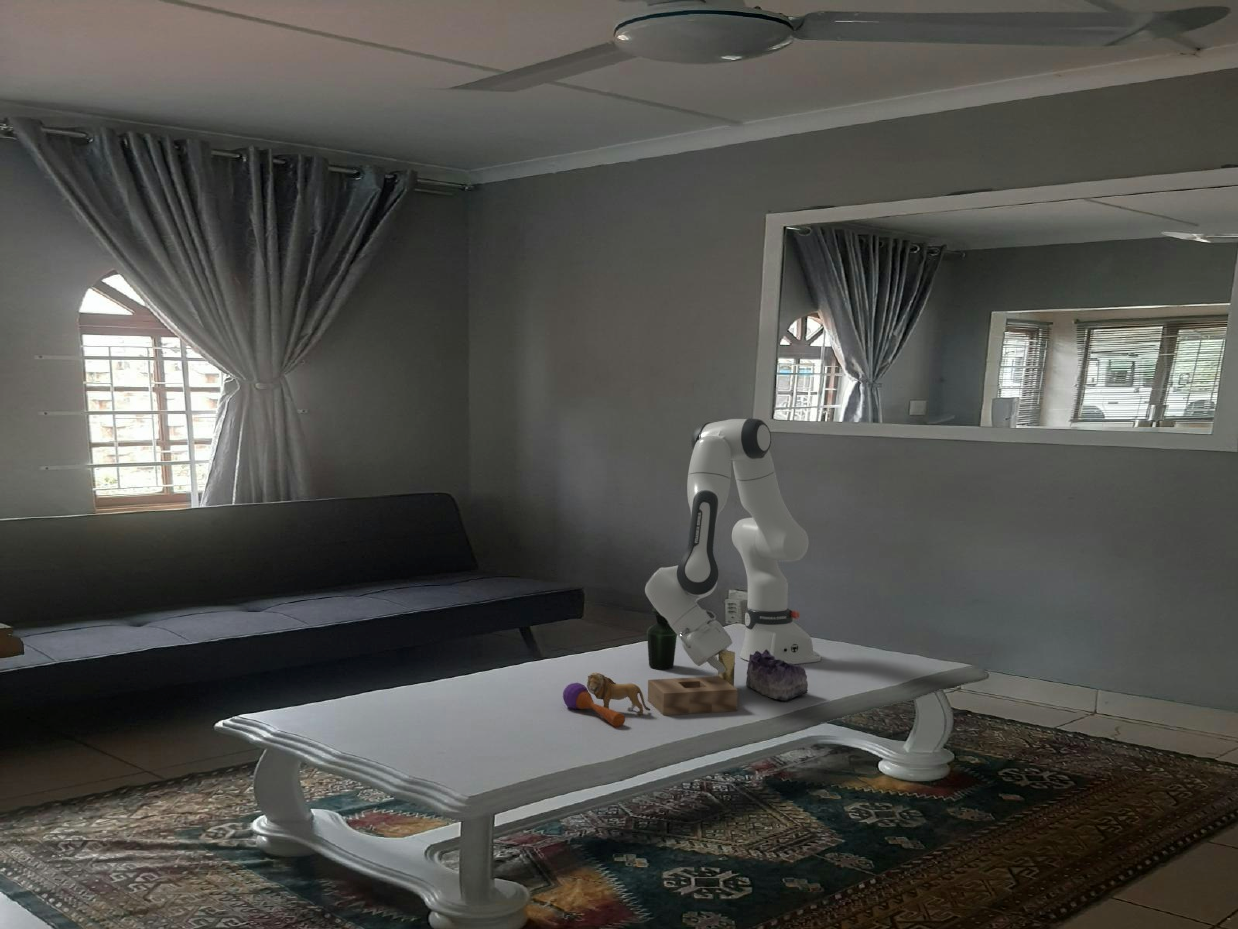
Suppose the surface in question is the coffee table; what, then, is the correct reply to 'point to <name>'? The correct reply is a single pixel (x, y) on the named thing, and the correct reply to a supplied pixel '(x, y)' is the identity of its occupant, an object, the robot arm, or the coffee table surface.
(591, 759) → the coffee table surface
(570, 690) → the purple and orange maraca
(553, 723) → the coffee table surface
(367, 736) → the coffee table surface
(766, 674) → the geode
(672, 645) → the potion bottle
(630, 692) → the lion figurine
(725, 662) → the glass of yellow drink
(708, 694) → the walnut hole block
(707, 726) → the coffee table surface
